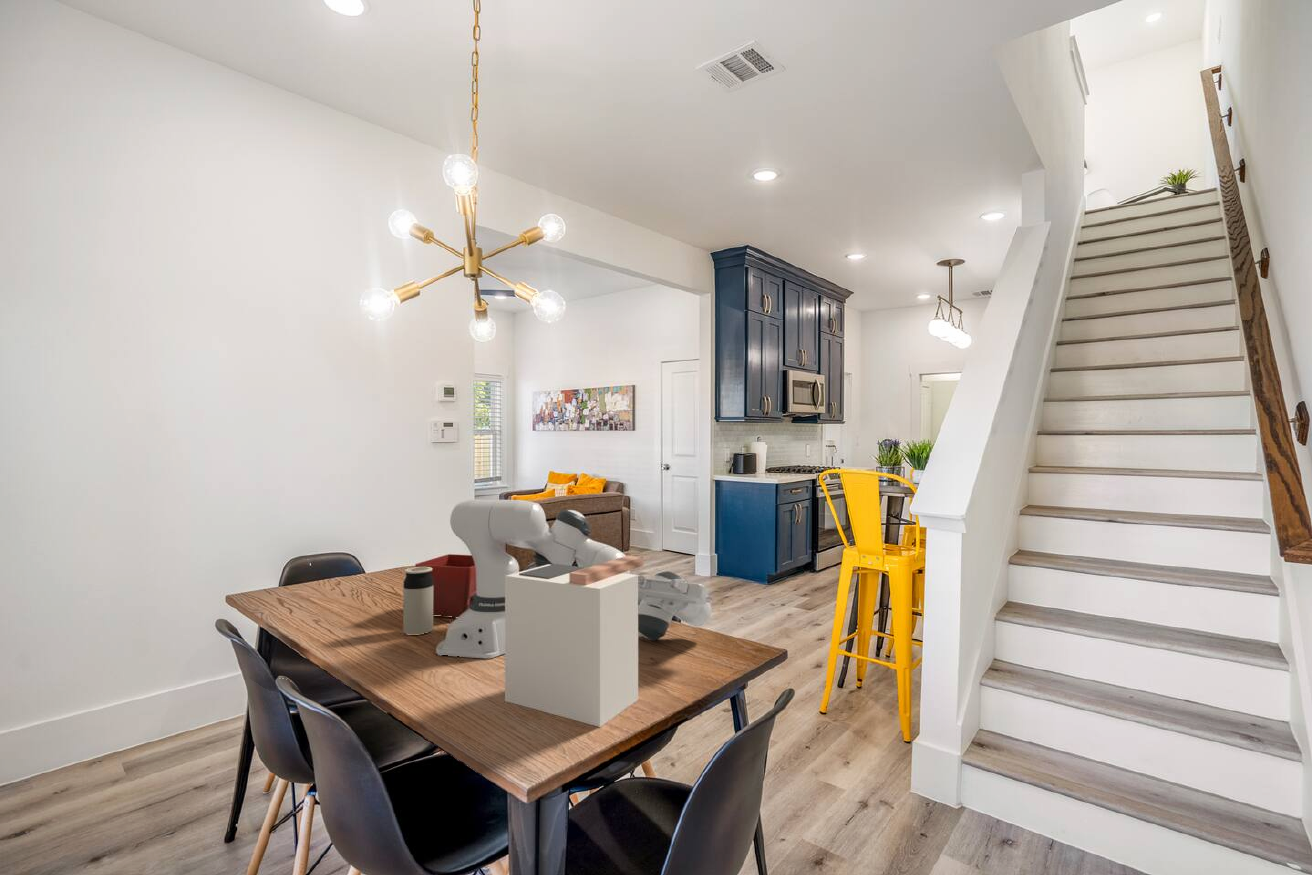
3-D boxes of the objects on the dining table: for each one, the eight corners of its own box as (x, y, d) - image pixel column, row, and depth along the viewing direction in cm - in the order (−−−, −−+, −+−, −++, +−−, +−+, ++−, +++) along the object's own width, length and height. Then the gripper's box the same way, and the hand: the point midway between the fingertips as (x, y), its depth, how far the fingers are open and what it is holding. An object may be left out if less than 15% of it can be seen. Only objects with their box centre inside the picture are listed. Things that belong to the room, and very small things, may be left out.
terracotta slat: (628, 564, 137) (628, 555, 137) (643, 565, 135) (643, 556, 135) (569, 583, 118) (569, 573, 118) (585, 585, 116) (585, 575, 116)
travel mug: (438, 628, 174) (438, 566, 175) (424, 636, 166) (425, 572, 167) (412, 627, 175) (412, 566, 175) (397, 636, 167) (398, 571, 167)
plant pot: (499, 606, 198) (499, 555, 198) (469, 623, 179) (469, 567, 180) (448, 603, 202) (448, 553, 203) (413, 619, 184) (413, 564, 184)
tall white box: (548, 678, 136) (548, 562, 137) (638, 699, 125) (637, 573, 125) (505, 700, 124) (505, 574, 125) (600, 726, 112) (599, 587, 113)
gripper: (713, 614, 148) (692, 598, 137) (642, 604, 158) (617, 588, 147) (717, 589, 151) (697, 571, 140) (647, 581, 160) (623, 564, 150)
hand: (655, 580), depth 144 cm, fingers open, 8 cm apart
